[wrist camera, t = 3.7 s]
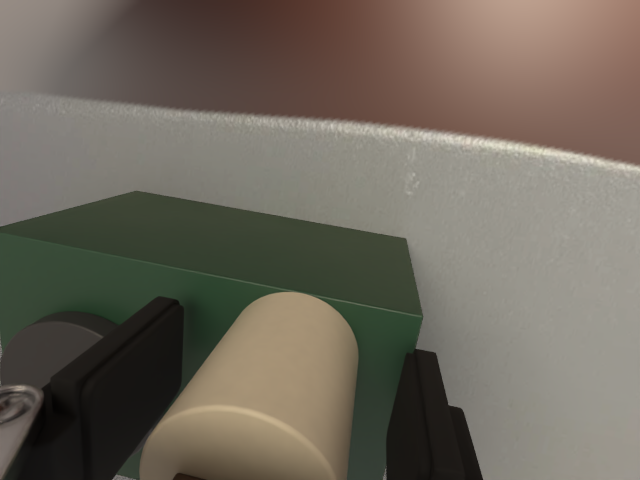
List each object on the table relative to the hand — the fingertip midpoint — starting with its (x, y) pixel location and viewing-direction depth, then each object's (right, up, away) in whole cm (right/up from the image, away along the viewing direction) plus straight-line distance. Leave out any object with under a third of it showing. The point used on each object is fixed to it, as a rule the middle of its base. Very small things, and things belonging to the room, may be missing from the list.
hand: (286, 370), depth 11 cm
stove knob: (0, 0, +1) cm, 1 cm away
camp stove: (-2, +1, +10) cm, 10 cm away
